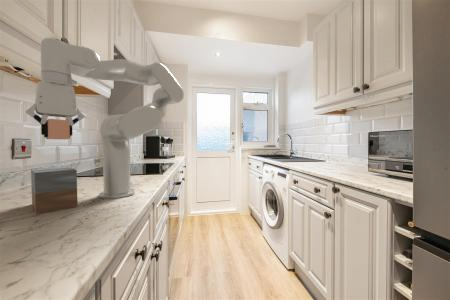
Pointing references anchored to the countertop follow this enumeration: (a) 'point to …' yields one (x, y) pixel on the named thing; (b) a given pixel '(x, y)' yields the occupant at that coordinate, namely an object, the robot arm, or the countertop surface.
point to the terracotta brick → (58, 129)
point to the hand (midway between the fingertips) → (57, 137)
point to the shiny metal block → (53, 189)
